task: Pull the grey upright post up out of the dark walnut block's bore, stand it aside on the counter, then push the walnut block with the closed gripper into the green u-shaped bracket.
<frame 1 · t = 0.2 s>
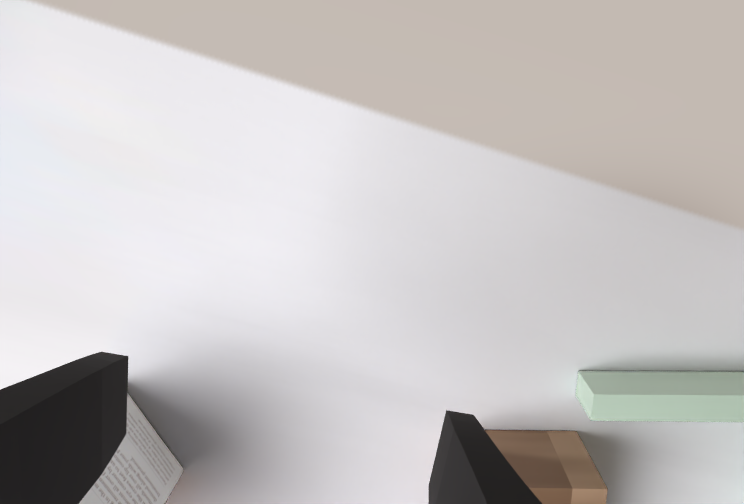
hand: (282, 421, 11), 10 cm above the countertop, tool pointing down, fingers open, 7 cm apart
walnut block: (511, 480, 23), on the countertop
green u-shaped bracket: (667, 483, 23), on the countertop
small box: (91, 452, 24), on the countertop
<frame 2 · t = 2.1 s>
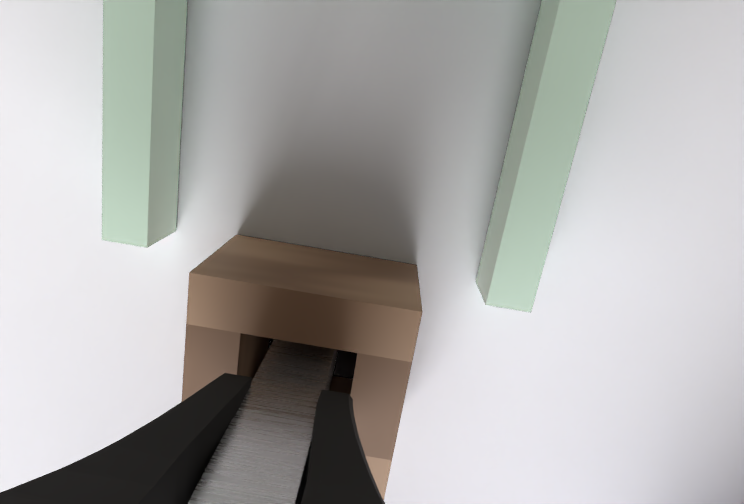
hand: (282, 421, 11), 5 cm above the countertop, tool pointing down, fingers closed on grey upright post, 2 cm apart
grey upright post: (315, 331, 16), resting in walnut block, touching gripper
walnut block: (315, 332, 16), on the countertop
green u-shaped bracket: (347, 99, 14), on the countertop
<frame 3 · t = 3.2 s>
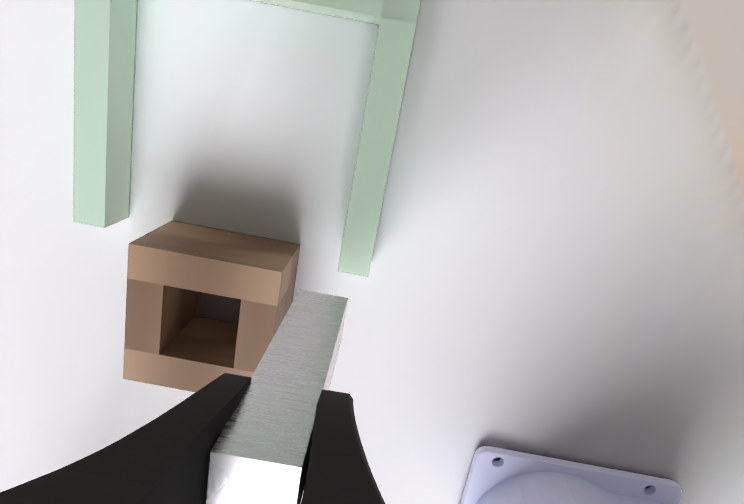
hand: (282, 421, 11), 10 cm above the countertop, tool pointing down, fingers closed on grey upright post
grey upright post: (320, 316, 17), point 5 cm above the countertop, touching gripper
walnut block: (229, 292, 22), on the countertop
green u-shaped bracket: (247, 127, 20), on the countertop
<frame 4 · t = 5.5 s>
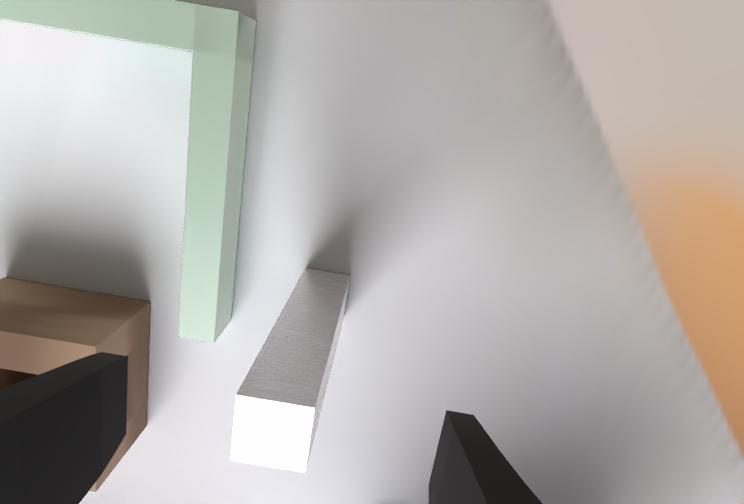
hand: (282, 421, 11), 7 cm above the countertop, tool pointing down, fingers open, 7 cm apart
grey upright post: (325, 292, 18), on the countertop
walnut block: (78, 354, 19), on the countertop
green u-shaped bracket: (76, 173, 17), on the countertop
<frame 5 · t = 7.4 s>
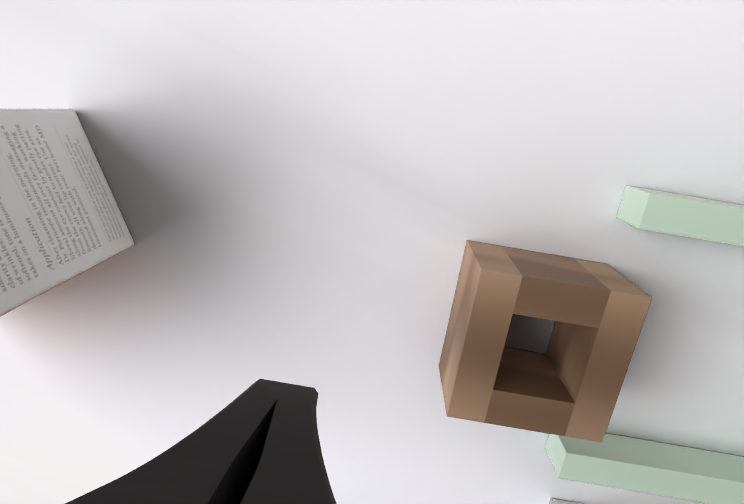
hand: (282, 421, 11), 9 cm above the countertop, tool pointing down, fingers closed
walnut block: (519, 316, 20), on the countertop
green u-shaped bracket: (695, 346, 20), on the countertop
small box: (24, 206, 20), on the countertop
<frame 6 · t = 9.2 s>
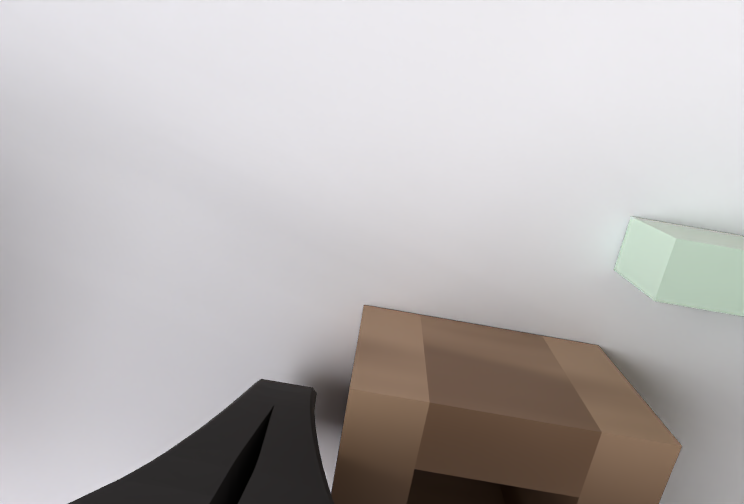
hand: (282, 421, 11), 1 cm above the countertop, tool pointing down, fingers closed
walnut block: (456, 425, 12), on the countertop, touching gripper
green u-shaped bracket: (741, 475, 12), on the countertop
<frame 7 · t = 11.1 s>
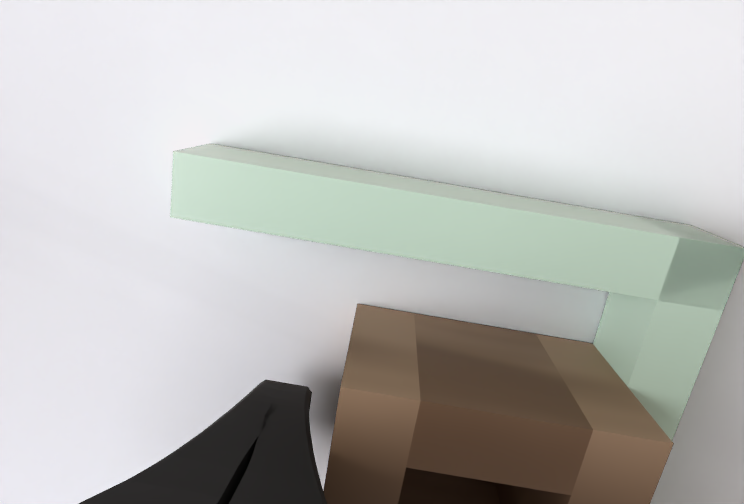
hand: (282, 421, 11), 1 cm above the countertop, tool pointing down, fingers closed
walnut block: (450, 424, 12), resting in green u-shaped bracket, touching gripper
green u-shaped bracket: (377, 411, 12), on the countertop
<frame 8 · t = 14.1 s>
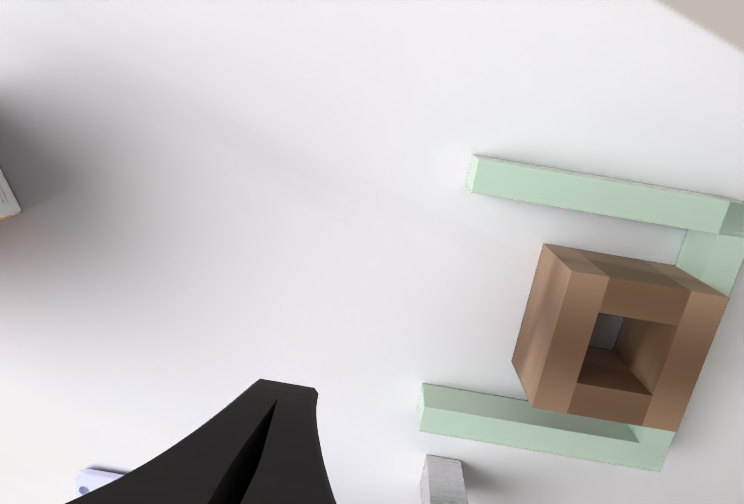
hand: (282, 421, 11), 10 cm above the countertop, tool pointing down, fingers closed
grey upright post: (440, 471, 24), on the countertop
walnut block: (590, 315, 21), resting in green u-shaped bracket
green u-shaped bracket: (548, 308, 21), on the countertop
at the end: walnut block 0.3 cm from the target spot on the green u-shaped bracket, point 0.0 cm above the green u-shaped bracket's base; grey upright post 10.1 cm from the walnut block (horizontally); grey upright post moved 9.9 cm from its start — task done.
